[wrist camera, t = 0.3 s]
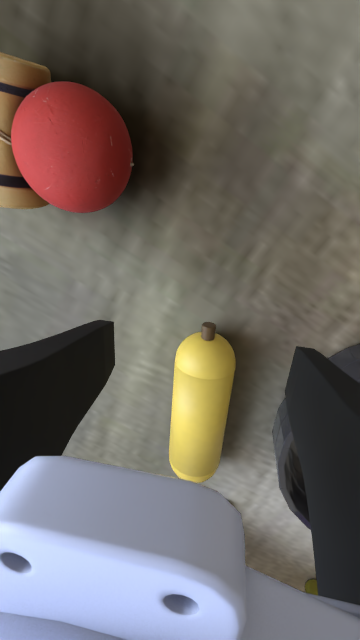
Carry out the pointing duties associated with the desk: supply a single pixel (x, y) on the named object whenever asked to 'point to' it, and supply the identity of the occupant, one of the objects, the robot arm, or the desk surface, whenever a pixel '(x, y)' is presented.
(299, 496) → the pan
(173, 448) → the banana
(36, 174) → the kendama
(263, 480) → the desk surface
